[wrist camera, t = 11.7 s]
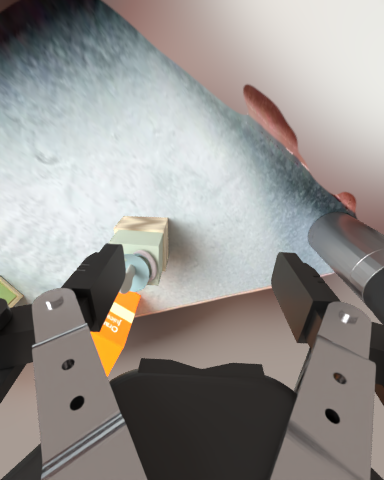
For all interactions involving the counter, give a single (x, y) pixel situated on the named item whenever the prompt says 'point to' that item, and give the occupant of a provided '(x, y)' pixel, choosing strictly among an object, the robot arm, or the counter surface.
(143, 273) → the pacifier
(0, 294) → the toy refrigerator
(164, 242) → the maple block
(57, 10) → the counter surface
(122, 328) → the orange juice
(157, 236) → the sage block
